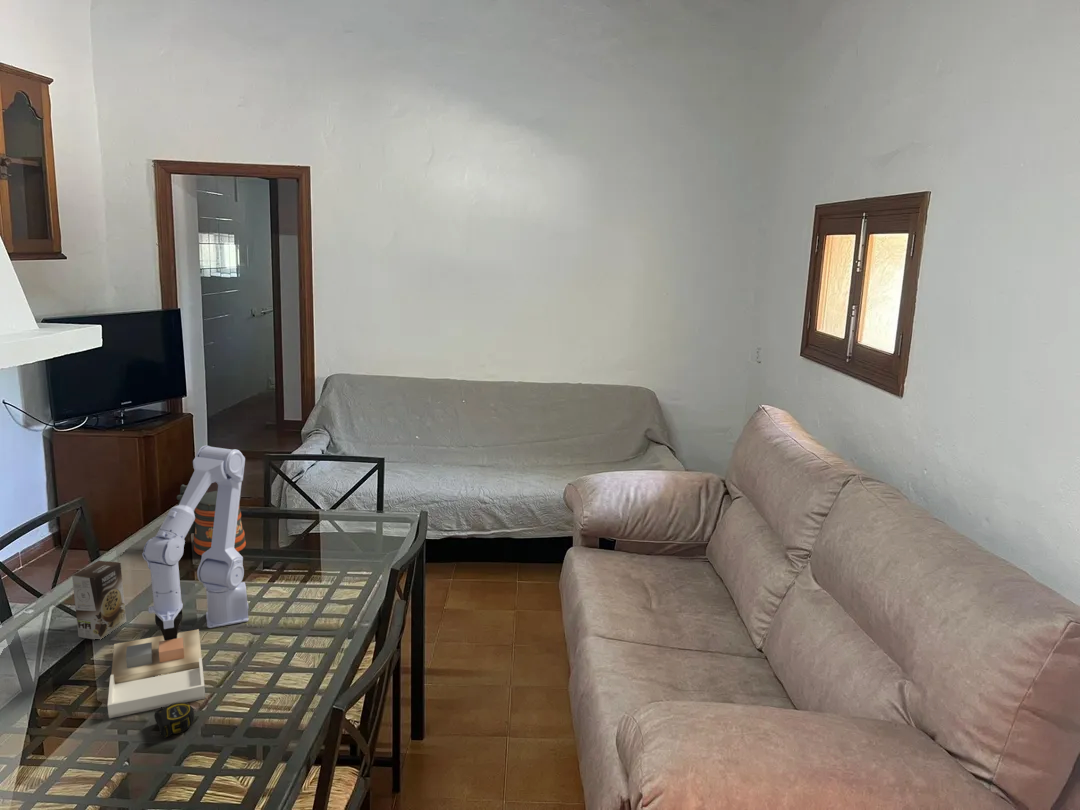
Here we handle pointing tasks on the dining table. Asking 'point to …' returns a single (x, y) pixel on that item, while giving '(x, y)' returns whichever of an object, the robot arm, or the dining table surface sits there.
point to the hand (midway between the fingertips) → (171, 642)
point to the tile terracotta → (171, 649)
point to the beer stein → (209, 523)
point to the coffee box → (99, 599)
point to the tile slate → (139, 655)
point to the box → (155, 692)
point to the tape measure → (174, 718)
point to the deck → (156, 658)
